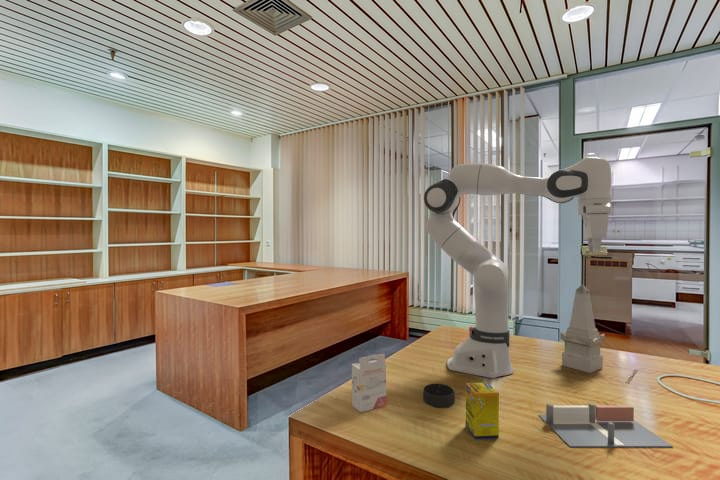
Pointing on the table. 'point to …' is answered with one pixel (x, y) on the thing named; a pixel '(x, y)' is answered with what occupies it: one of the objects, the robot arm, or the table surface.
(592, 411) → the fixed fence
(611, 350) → the table surface
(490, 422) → the supplement box
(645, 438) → the card
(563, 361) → the miniature monument
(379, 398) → the ink cartridge box
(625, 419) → the fence panel
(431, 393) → the smart speaker
